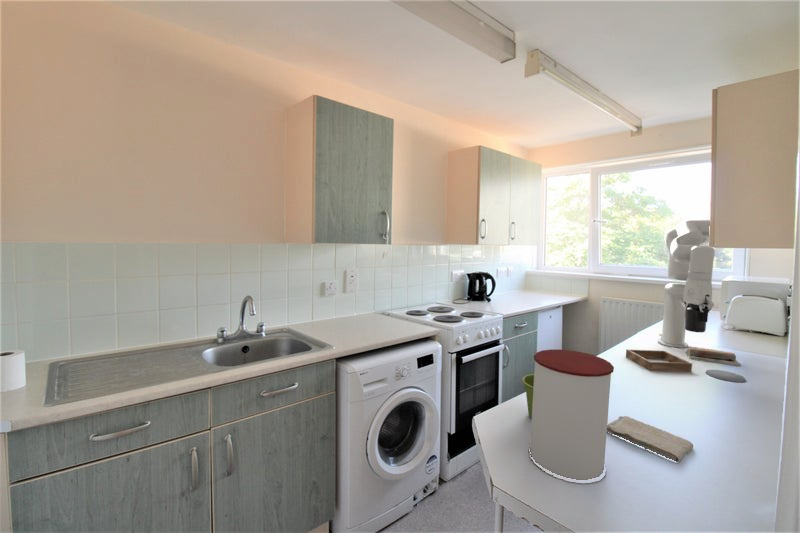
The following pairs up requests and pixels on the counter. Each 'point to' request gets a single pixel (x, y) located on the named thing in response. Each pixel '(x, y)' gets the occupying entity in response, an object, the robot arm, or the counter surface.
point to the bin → (671, 365)
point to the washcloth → (650, 438)
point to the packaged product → (712, 356)
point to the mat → (725, 375)
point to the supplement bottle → (694, 319)
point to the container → (570, 413)
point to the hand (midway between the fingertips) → (695, 319)
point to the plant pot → (529, 391)
